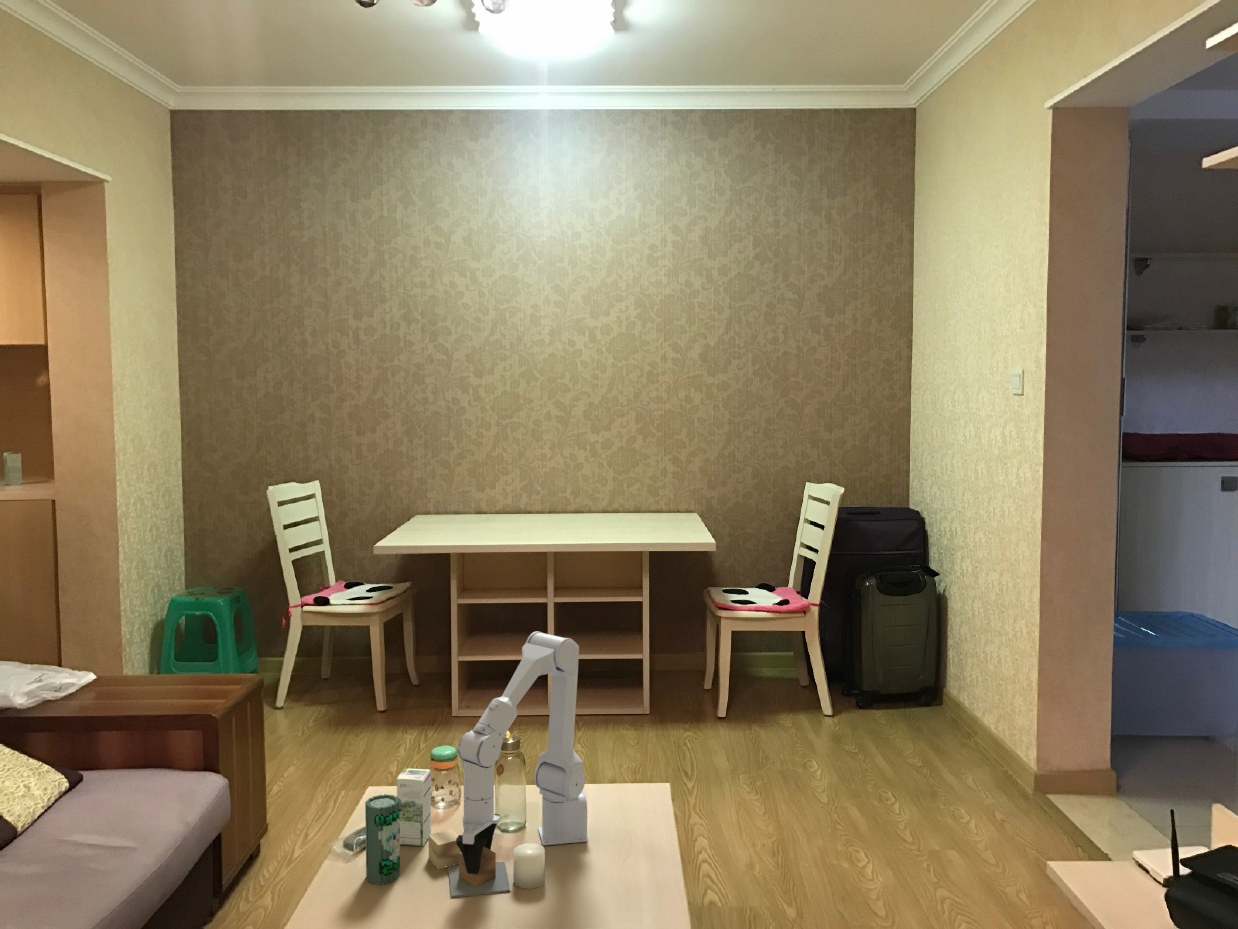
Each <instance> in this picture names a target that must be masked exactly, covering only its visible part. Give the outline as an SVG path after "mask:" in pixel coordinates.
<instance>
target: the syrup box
mask: <svg viewBox="0 0 1238 929" xmlns="http://www.w3.org/2000/svg"><path fill="white" fill-rule="evenodd" d="M431 772H432V771H431V769H427V768H426V769H423V768H422V769H421V768H404V769H403V770H402V771H401V772H400V774H398V777H397V778H396V796H397V798H398V799H399V811H400V846H410V847H411V846H412V847H424V845H425V844H426V843H427V841H428V840H429V835H431V834H432V823H431V822H432V821H431V819H432V818H431V813H432V812H431V809H432V808H431V805H432V803H431V801H432V800H431V796H432V794H431V792H432V791H431V787H432V786H431V784H432V783H431V782H432V779H431V778H432V776H431V775H432V774H431ZM427 839H428V840H427ZM425 842H426V843H425Z"/></svg>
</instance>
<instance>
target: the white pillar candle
mask: <svg viewBox="0 0 1238 929" xmlns="http://www.w3.org/2000/svg"><path fill="white" fill-rule="evenodd" d="M545 859H546V849H545V847H544V845H541V844H538V843H530V842H527V843H522V844H519V845H517V846H515V848H513V866H512V867H513V881H514V882H513V884H514V883H515V884H516V885H517V886H516V885H515V884H514V885H515V886H516V887H518V886H519V887H518V888H520V887H522V888H521V889H525V888H528V889H529V890H530V889H537V888H539V887H541V886H543V884H544V883H545V880H546V877H545V876H546V874H545V870H546V864H545V863H546V860H545ZM538 886H539V887H538ZM528 889H527V890H528Z"/></svg>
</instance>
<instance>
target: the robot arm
mask: <svg viewBox="0 0 1238 929" xmlns="http://www.w3.org/2000/svg"><path fill="white" fill-rule="evenodd" d="M579 653H580V645H579V644H577V642H576V641H575V640H574V639H572V638H571V637H561V636H558V635H553V634H548V633H544V632H542V631H538V630H537V631H533V632H532V633H530V635H529V636H528V637H527V640H526V641H525V644H524V645H523V646H522V648H521V655H522V659H521V660H520V662H519V664H518V665H517V668H516V669H515V671H514V672H513V675H512V677H511V679H510V680H509V683H508V684H507V686H506V688H505V689H504V692H503V694H502V695H501V696H500V697H495V698H493V699H491V701H490V702H489V704H488V706H487V708H486V709H485V711H484V712H483V714H482V715H481V717H480V718H479V720H478V721H477V723H476V724H475V726H474V727H473V729H472V730H469V731H468V732H466V733H464V734H463V735H462V736H461V737H460V739H459V742H458V747H457V748H456V754H457V756H458V758H459V759H460V761H461V762H460V763H461V764H460V765H461V768H462V770H463V816H462V826H463V828H462V829H463V833H462V834H459V835H458V837H457V839H456V844H457V846H458V847H459V849H460V851H461V853H462V855H463V858H464V862H465V866H466V870H467V873H469V874H478V873H479V870H480V865H481V857H482V852H483V849H484V847H486V848H488V849H489V850H491V849H492V845H493V841H494V840H493V839H494V835H495V832H496V827H497V825H498V824H499V822H500V819H501V815H500V814H498V813H495V811H494V810H495V809H494V808H495V807H494V806H495V805H494V804H495V803H494V802H495V796H494V795H495V791H494V790H495V789H494V788H495V787H494V786H495V780H494V779H495V776H494V775H495V774H494V772H495V770H494V769H495V763H496V762H497V760H499V758H500V756H501V751H502V745H503V744H504V737H505V735H506V733H507V732H508V731H509V730H510V727H511V726H512V724H513V723H514V721H515V719H516V718H517V716H518V709H517V706H518V704H520V701H522V699H523V698H524V696H525V695H526V694H527V692H528V691H529V690H530V688H531V687H532V685H534V683H535V681H536V680H537V679H538V677H540V676H544V675H548V674H549V675H550V676H551V686H550V690H551V691H550V703H549V704H550V705H549V719H548V720H549V721H548V734H547V735H548V736H547V749H546V750H545V751H543V752H541V753H540V754H539V756H538V757H537V758H538V759H537V765H536V768H535V771H534V775H533V776H534V777H533V781H534V785H535V786H536V787H537V789H539V794H540V795H542V798H541V799H542V800H541V803H542V804H541V806H542V807H541V812H542V813H541V816H542V817H541V819H542V820H541V824H542V825H540V826H538V828H537V829H538V832H539V833H538V834H539V837H540V840H541V844H542V846H553V845H562V844H563V845H564V844H575V843H586V842H588V801H587V795H586V794H585V792H583V790H584V788H585V784H586V779H585V778H586V777H585V772H584V761H583V760H582V759H581V758H580V756H579V755H578V754H577V753H576V751H575V750H574V741H575V726H576V725H575V723H576V707H577V693H578V677H579V676H578V674H579V658H580V657H579V656H580V654H579ZM491 851H492V850H491Z"/></svg>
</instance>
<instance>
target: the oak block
mask: <svg viewBox="0 0 1238 929" xmlns="http://www.w3.org/2000/svg"><path fill="white" fill-rule="evenodd" d="M458 836H459V835H458V833H456V831H454V829H453V828H451V829H448V830H443V831H440V832H435V833H431V835H429V838H428V860H429V861H430V860H431V861H432V862H433V863H434V864H433V863H432V862H431V861H430V862H431V863H432V864H433V865H434V866H435V867H436V869H437V870H441V869H444V868H443V867H445V866H448V867H451V866H450V865H452V866H454V865H453V864H455V865H458V864H457V863H459V852H461V851H460V849H459V847H458V846H457V844H456V839H457V837H458ZM440 868H441V869H440ZM445 868H446V867H445Z"/></svg>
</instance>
